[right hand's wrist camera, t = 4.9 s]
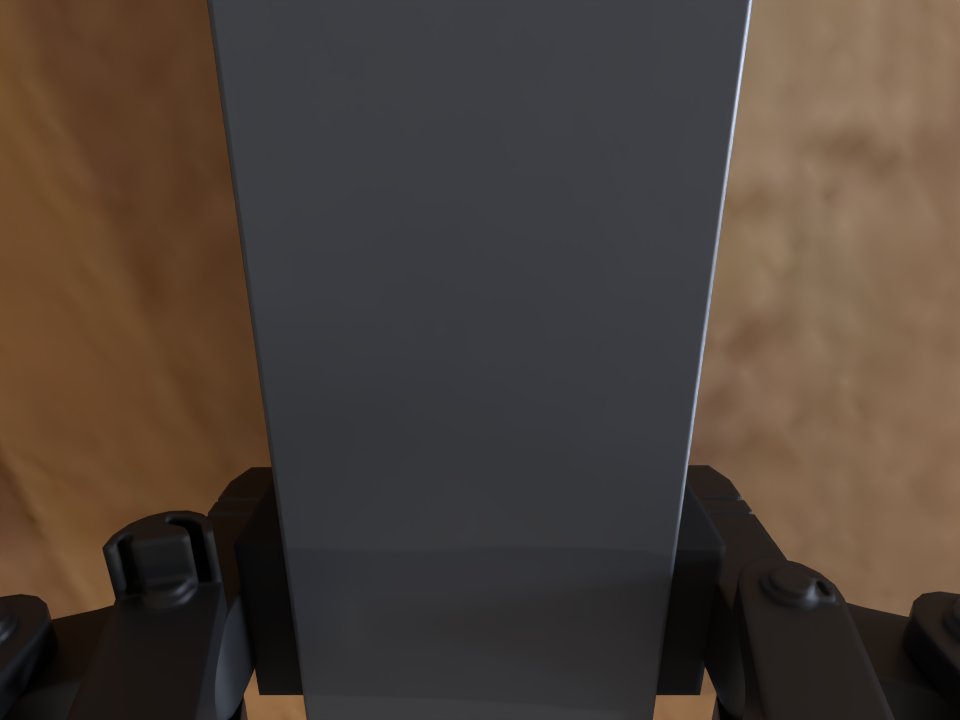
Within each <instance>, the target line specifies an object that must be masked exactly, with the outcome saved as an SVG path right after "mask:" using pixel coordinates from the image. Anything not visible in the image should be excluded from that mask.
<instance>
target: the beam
mask: <svg viewBox="0 0 960 720" xmlns="http://www.w3.org/2000/svg"><path fill="white" fill-rule="evenodd" d="M752 1H753V0H207V4H208V11H209V19H210V26H211V33H212V40H213V47H214V55H215V62H216V69H217V76H218V83H219V91H220V98H221V105H222V112H223V119H224V127H225V134H226V141H227V148H228V155H229V163H230V170H231V177H232V184H233V192H234V199H235V206H236V213H237V220H238V228H239V235H240V242H241V249H242V256H243V264H244V271H245V278H246V285H247V292H248V300H249V307H250V314H251V321H252V328H253V336H254V343H255V350H256V357H257V364H258V372H259V379H260V386H261V393H262V400H263V408H264V415H265V422H266V429H267V436H268V444H269V451H270V458H271V465H272V472H273V480H274V487H275V494H276V501H277V508H278V516H279V523H280V530H281V537H282V545H283V552H284V559H285V566H286V573H287V581H288V588H289V595H290V602H291V609H292V617H293V624H294V631H295V638H296V645H297V653H298V660H299V667H300V674H301V681H302V689H303V696H304V703H305V710H306V717H307V720H653V714H654V707H655V699H656V692H657V685H658V678H659V671H660V663H661V656H662V649H663V642H664V635H665V627H666V620H667V613H668V606H669V599H670V591H671V584H672V577H673V570H674V563H675V555H676V548H677V541H678V534H679V527H680V519H681V512H682V505H683V498H684V491H685V483H686V476H687V469H688V462H689V455H690V447H691V440H692V433H693V426H694V419H695V411H696V404H697V397H698V390H699V383H700V375H701V368H702V361H703V354H704V347H705V339H706V332H707V325H708V318H709V311H710V303H711V296H712V289H713V282H714V274H715V267H716V260H717V253H718V246H719V238H720V231H721V224H722V217H723V210H724V202H725V195H726V188H727V181H728V174H729V166H730V159H731V152H732V145H733V138H734V130H735V123H736V116H737V109H738V102H739V94H740V87H741V80H742V73H743V66H744V58H745V51H746V44H747V37H748V30H749V22H750V15H751V8H752Z"/></svg>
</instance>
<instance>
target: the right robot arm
mask: <svg viewBox="0 0 960 720" xmlns="http://www.w3.org/2000/svg"><path fill="white" fill-rule="evenodd" d="M102 549H103V552H104V556H105V560H106V564H107V567H108V571H109V575H110V579H111V582H112V586H113V590H114V594H115V597H116V600H115V603H114V605H112V606H109V607H105V608H102V609H98V610H94V611H89V612H85V613H80V614H76V615H71V616H67V617H62V618H58V619H53V620H52V619H51V616H50V613H49V610H48V607H47V604H46V603H45V602H43V601H42V600H41V599H40V598H39V597H37V596H30V595H23V594H18V595H11V596H4V597H0V720H248V719H247V712H246V705H245V700H244V693H245V690H246V688H247V685H248V683H249V681H250V678H251V676H252V674H253V671H254V669H255V671H256V677H257V683H258V689H259V695H303V689H302V681H301V674H300V667H299V660H298V653H297V645H296V638H295V631H294V624H293V617H292V609H291V602H290V595H289V588H288V581H287V573H286V566H285V559H284V552H283V545H282V537H281V530H280V523H279V516H278V508H277V501H276V494H275V487H274V480H273V472H272V467H251V468H250V469H249V470H247V471H246V472H244V473H243V474H241V475H240V476H238V477H237V478H235V479H234V480H233V481H231V482H230V483H229V485H228V486H227V487H226V489H225V490H224V492H223V493H222V494H221V496H220V497H219V499H218V502H216V503H215V504H214V506H213V507H212V508H211V510H210V511H209V513H208V517H206V516H204V515H203V514H200V513H196V512H192V511H168V512H164V513H159V514H155V515H151V516H147V517H145V518H143V519H140V520H138V521H136V522H133V523H131V524H129V525H127V526H126V527H124V528H123V529H121V530H120V531H118V532H117V533H115V534H114V535H113V536H112V537H111V538H110V539H109V540H108V542H107V543H106V544H105V545H104V547H103V548H102ZM705 667H706V669H707V671H708V674H709V676H710V679H711V681H712V683H713V686H714V688H715V690H716V693H717V695H716V700H715V705H714V711H713V716H712V720H960V594H954V593H947V592H940V591H939V592H932V593H925V594H922V595H921V596H920V597H918V598H917V599H916V600H915V601H914V602H913V605H912V608H911V611H910V615H909V617H905V616H901V615H896V614H891V613H887V612H882V611H878V610H873V609H869V608H864V607H860V606H857V605H853V604H850V603H846V602H845V599H844V597H843V596H842V595H841V593H840V592H839V590H838V589H837V587H836V586H835V585H834V584H833V583H832V582H830V581H829V580H828V579H827V578H825V577H824V576H823V575H821V574H820V573H819V572H817V571H815V570H812V569H810V568H808V567H806V566H804V565H802V564H800V563H796V562H792V561H788V560H787V559H786V558H785V556H784V555H783V553H782V552H781V551H780V549H779V548H778V546H777V545H776V544H775V542H774V541H773V540H772V538H771V537H770V535H769V534H768V533H767V531H766V530H765V528H764V527H763V526H762V524H761V523H760V522H759V520H758V519H757V517H756V516H755V515H754V514H752V510H751V509H750V508H749V506H748V505H747V504H746V502H745V501H744V500H742V497H741V495H740V494H739V492H738V491H737V490H736V488H735V487H734V486H733V484H732V483H731V481H730V480H729V479H727V478H726V477H724V476H723V475H721V474H720V473H719V472H717V471H716V470H714V469H713V468H711V467H710V466H708V465H688V469H687V476H686V483H685V491H684V498H683V505H682V512H681V519H680V527H679V534H678V541H677V548H676V555H675V563H674V570H673V577H672V584H671V591H670V599H669V606H668V613H667V620H666V627H665V635H664V642H663V649H662V656H661V663H660V671H659V678H658V685H657V692H656V695H700V692H701V686H702V681H703V675H704V669H705Z"/></svg>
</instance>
